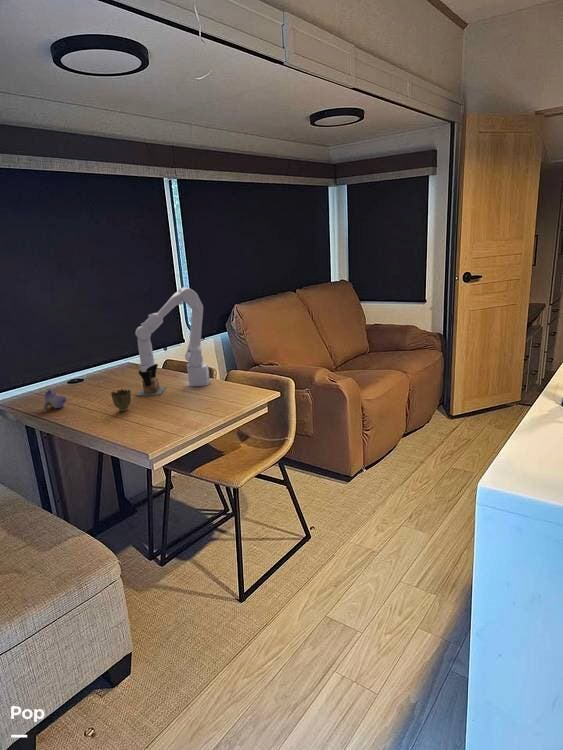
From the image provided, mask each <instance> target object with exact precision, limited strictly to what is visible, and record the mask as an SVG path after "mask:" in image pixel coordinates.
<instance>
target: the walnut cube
mask: <svg viewBox="0 0 563 750" xmlns="http://www.w3.org/2000/svg"><path fill="white" fill-rule="evenodd" d="M159 382H160V381H159V377H158V376H156V377H151V386H146V385H145V383H144V381H143V380H142V388H143V390H144V393H156V392H157V391H158V390H159V389H160V388H159V387H160V383H159Z"/></svg>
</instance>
